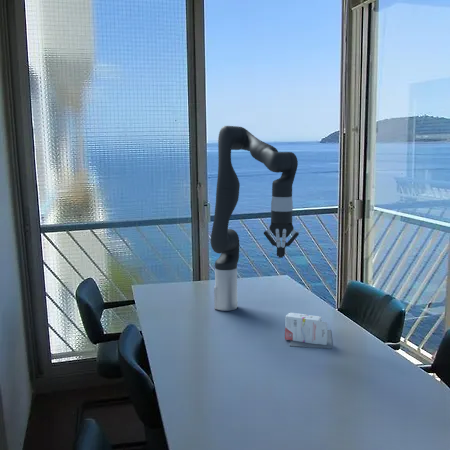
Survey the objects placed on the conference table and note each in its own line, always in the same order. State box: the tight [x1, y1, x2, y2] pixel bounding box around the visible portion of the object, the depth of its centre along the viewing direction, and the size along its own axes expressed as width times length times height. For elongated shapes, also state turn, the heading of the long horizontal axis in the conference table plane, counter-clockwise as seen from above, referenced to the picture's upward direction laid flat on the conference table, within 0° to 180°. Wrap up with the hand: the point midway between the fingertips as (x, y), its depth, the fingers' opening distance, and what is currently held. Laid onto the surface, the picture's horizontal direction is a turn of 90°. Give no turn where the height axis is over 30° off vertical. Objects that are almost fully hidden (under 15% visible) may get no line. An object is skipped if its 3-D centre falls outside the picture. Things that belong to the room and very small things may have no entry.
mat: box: [289, 329, 333, 350], centre depth 175 cm, size 14×17×1 cm
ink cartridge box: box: [284, 312, 329, 345], centre depth 172 cm, size 9×5×15 cm
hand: (280, 257), depth 179 cm, fingers closed
